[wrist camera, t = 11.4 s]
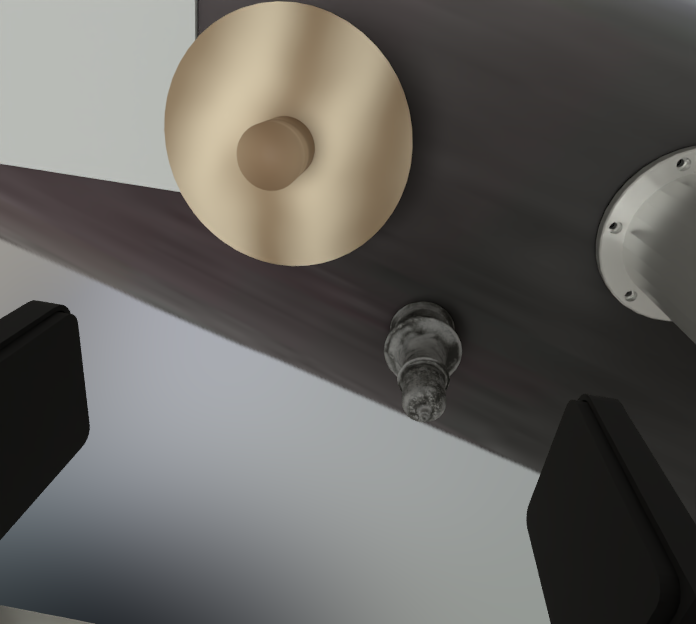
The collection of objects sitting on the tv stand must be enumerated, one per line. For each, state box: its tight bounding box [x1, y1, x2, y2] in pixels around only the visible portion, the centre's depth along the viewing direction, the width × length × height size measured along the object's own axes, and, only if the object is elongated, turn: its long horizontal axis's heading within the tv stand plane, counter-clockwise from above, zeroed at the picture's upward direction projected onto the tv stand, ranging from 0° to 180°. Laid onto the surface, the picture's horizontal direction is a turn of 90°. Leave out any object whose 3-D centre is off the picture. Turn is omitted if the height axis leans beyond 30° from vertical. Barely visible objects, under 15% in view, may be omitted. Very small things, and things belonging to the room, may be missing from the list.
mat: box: [0, 0, 197, 192], centre depth 36 cm, size 17×17×1 cm
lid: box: [164, 1, 413, 266], centre depth 29 cm, size 15×15×5 cm
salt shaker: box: [384, 301, 462, 422], centre depth 37 cm, size 6×6×12 cm
